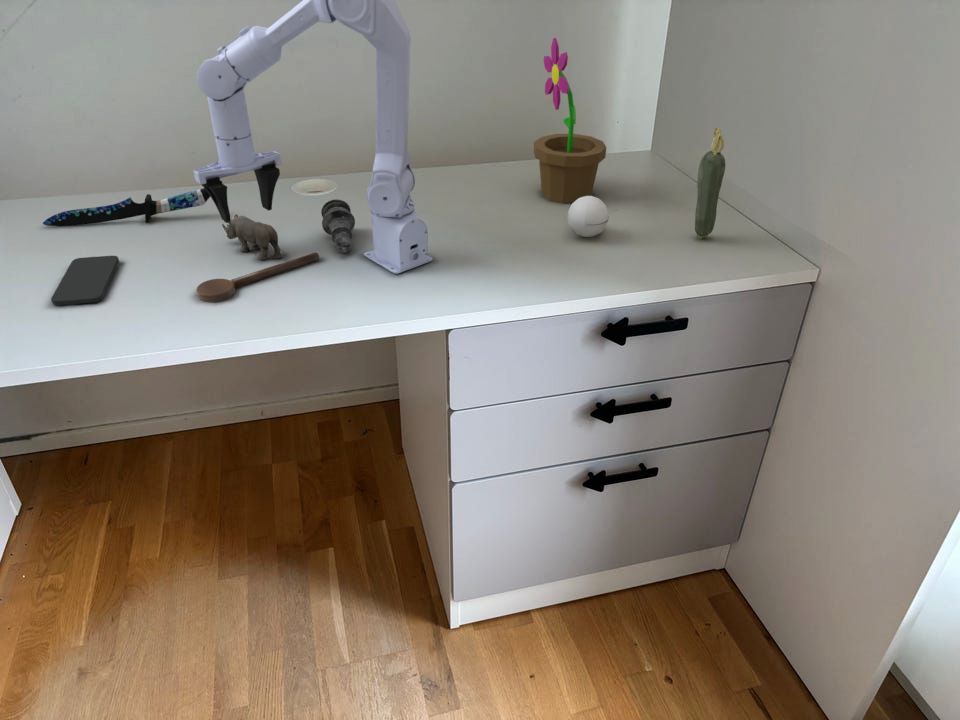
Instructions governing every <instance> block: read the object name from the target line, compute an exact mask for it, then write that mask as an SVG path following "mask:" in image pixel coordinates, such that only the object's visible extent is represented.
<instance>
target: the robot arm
mask: <svg viewBox="0 0 960 720" xmlns="http://www.w3.org/2000/svg"><path fill="white" fill-rule="evenodd" d="M336 21H337V22H339V23H340V24H341V25H342V26H345V27H347V28H349V29H350V30H353V31H355V32H356V33H358V34H360V35H362V36H363V37H364V38H365V39H366V40H367V41H368V42H369V43H370V44H371V45H372V46H373V47H374V48H375V51H376V53H375V54H376V58H375V59H376V60H375V61H376V62H375V63H376V64H375V65H376V70H375V71H376V73H375V75H376V76H375V83H376V84H375V85H376V87H375V156H374V161H373V165H372V170H371V173H372V174H371V175H372V176H371V180H370V184H369V185H368V187H367V189H366V193H365V196H366V197H365V198H366V202H367V204H368V207H369V208H370V219H371V230H372V242H373V243H372V244H373V249H371V250H368V251H366V252H364V253H363V257H365V258H367V259H369V260H370V261H372V262H373V263H375V264H376V265H377V264H378V265H379V266H381V267H382V268H384V269H386V270H387V271H389V272H391V273H393V274H395V275H397V274H401V273H403V272H406V271H408V270H412V269H414V268H417V267H420V266H422V265H426V264H427V263H430V262H432V261H433V257H432V256H430V255H429V236H428V235H429V234H428V227H427V224H426V223H425V222H424V220H422V219H421V218H420V217H419V216H418V214H417V212H416V209H415V203H414V200H413V198H412V197H411V193H412V191H413V190H414V188H415V185H416V175H415V173H414V170H413V169H412V166H411V154H410V152H409V150H408V137H409V136H408V135H409V107H410V106H409V103H410V102H409V101H410V68H411V31H410V28H409V26H408V24H407V23H406V21H405V19H404V17H403V15H402V13H401V11H400V9H399V7H398V5H397V2H396V0H301V1H300V2H299V3H297V4H296V5H295V6H294V7H292V8H291V9H290V10H289V11H288V12H286V13H285V14H284V15H283V16H281V17H280V18H279V19H277V20H276V21H275V22H274V23H272V24H271V25H270V26H269V27H264V26H260V25H254V26H252V27H250V26H248V25H247V26H245V27H244V28H242V29H241V30H240V31H239V35H240V36H239V37H237V38H236V39H235V40H234V41H232V42H231V43H230V44H229V45H227V46H226V45H221V46H220V47H218V48H217V50H216V51H217V53H218V54H217V55H216V56H214V57H212V58H209V59H208V58H207V59H205V60H203V62H202V64H200V66H199V67H198V69H197V72H196V82H197V85H198V86H199V89H200V90H201V92H202V93H203V94H204V95H205V96H206V98H207V103H208V110H209V115H210V120H211V127H212V131H213V137H214V141H215V146H216V151H217V152H216V153H217V156H218V161H215V162H212V163H210V164H207V165H205V166H202V167H200V168H196V169H193V170H192V172H193V177H194V181H195V182H196V183H197V184H198V185H200V186H201V187H202V188H205V190H206V191H207V192H208V194H209V195H210V197H209V198H211V201H213V203H214V205H215V207H216V209H217V211H218V213H219V216H220V219H221V220H222V221H223V222H224V221H225V222H230V221H231V213H230V207H229V202H228V186H227V185H225V184H224V183H223V180H221V179H224V178H227V177H231V176H235V175H236V176H237V175H239V174H244V173H247V172H251V171H252V172H254V175H255V177H256V181H257V185H258V191H259V197H260V203H261V205H262V208H263V209H265V210H267V211H271V210H272V209H273V199H274V194H275V193H274V192H275V188H276V185H277V183H278V179H279V177H280V174H281V171H280V168H278V167H277V166H282V157H281V153H280V152H278V151H275V150H272V151H267V152H266V151H265V152H259V153H258V152H257V153H255V148H254V142H253V135H252V129H251V123H250V118H249V111H248V105H247V101H246V95H245V94H246V93H245V87H246V85H247V84H248V83H250V82H252V81H253V80H254V79H256V78H257V77H258V76H260V75H262V74H263V73H264V72H265V71H267V70H268V69H269V68H271V67H272V66H274V65H275V64H276V63H279V61H280V60H281V56H282V49H283V47H284V46H285V45H286V44H288V43H289V42H291V41H292V40H293V39H295V38H296V37H298V36H299V35H301V34H303V33H304V32H305V31H308V29H310V28H311V27H313V26H314V25H315V24H317V23H326V24H333V23H334V22H336ZM225 222H224V223H225Z"/></svg>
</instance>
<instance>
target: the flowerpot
mask: <svg viewBox="0 0 960 720" xmlns="http://www.w3.org/2000/svg"><path fill="white" fill-rule="evenodd" d="M550 50H551V51H550V54H551V55H543V66H544V69H545V70H546V72H547V73H551V77H548V78H547V79H546V81H545V84H544V94H545V95H546V96H548V95H551V94H552V103H553V106H554V109H555V111H558V110H559V109H560V105H561V94H566V95H567V102H568V103H567V104H568V112H569V116H568V117H566V118H563V120H562V121H563V124H564V125H565V126H566V128H567V130H568V133H553V134H549V135H544V136H541V137H539V138H538V139H536V140H534V142H533V154H534V155H533V156H534V158H535V159H536V160H538V162H539V163H538V164H539V175H540V188H541V194H542V195H541V196H542V197H543V198H545V199H546V200H548V201H550V202H555V203H560V204H572V203H573V202H574V201H576V200H577V199H578V198H581V197H584V196H593V191H594V186H595V182H596V178H597V174H598V169H599V164H600V163H601V162H602V161H604V159H605V158H606V155H607V146H606V144H605V142H604V141H603V140H601V139H598V138H596V137H594V136H591V135H586V134H585V135H584V134H578V133H574V125H576V123H577V121H576V118H577V116H576V114H577V109H576V106H575V105H574V98H573V97H574V95H573V92H572V89H571V87H570V83H569V82H568V79H567V76H565V74H564V73H563V71H565V69H566V68H567V66H568V61H569V60H568V58H569V56H568V55H569V54H568V52H562V53H560V46H559V42H558V39H557V38H556V37H553V38H552V41H551V45H550Z"/></svg>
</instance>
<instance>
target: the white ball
mask: <svg viewBox="0 0 960 720" xmlns="http://www.w3.org/2000/svg"><path fill="white" fill-rule="evenodd" d="M616 211H617V209H615V210H612V211H609V210H608V208H607V204H605V202H603V201H602V200H601V199H600V198H598V197H597V196H593V195H591V196H584V197H581V198H578V199H577V200H576V201H574V202H573V203H571V205H570V207H569V208H568V212H567V223H568V226H569V227H570V229H571V231H572V232H574V233H575V234H576V235H577V236H580V237H584V238H591V237H595V236H598V235H599V234H600V233H602V232H603V231H604V230H605V228H606V227H607V225H608V222H609V214H610V213H612V212H616Z"/></svg>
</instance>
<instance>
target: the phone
mask: <svg viewBox="0 0 960 720" xmlns="http://www.w3.org/2000/svg"><path fill="white" fill-rule="evenodd" d="M119 263H120V260H119V256H117V255H102V256H87V257H86V256H85V257H77V258H74V259H73V260H72V261H71V262H70V264H69V266H67V269H66V271H65V273H64V275H63V276H62V278H61V280H60V281H59V284H58V286H57V287H56V289H55V291H54V293H53V295H52V296H51V298H50V299H51V300H50V301H51V303H52V305H54V306H64V305H66V306H67V305H77V304H78V305H79V304H89V303H90V304H91V303H98V302H100V301H101V300H103V298H104V297H105V294H106V292H107V290H108V287H109V285H110V283H111V281H112V278H113V276H114V274H115V273H116V270H117V267H118V265H119Z"/></svg>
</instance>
